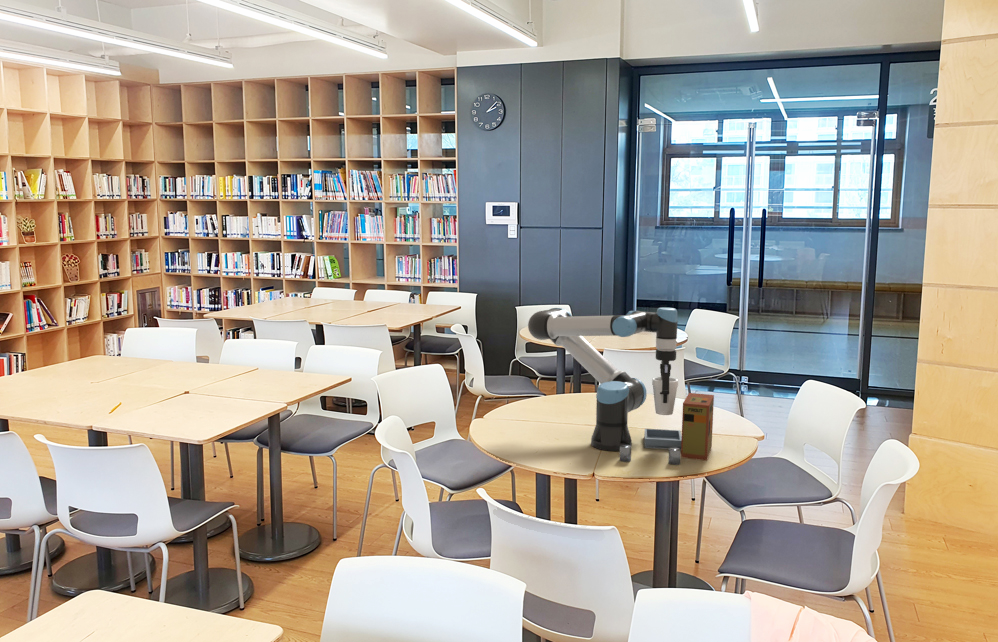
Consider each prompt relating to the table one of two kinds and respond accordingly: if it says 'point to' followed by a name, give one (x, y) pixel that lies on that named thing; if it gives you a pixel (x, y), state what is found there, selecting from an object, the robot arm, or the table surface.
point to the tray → (662, 438)
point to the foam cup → (657, 396)
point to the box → (697, 426)
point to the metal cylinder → (625, 453)
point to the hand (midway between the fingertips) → (664, 407)
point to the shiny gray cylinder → (674, 456)
